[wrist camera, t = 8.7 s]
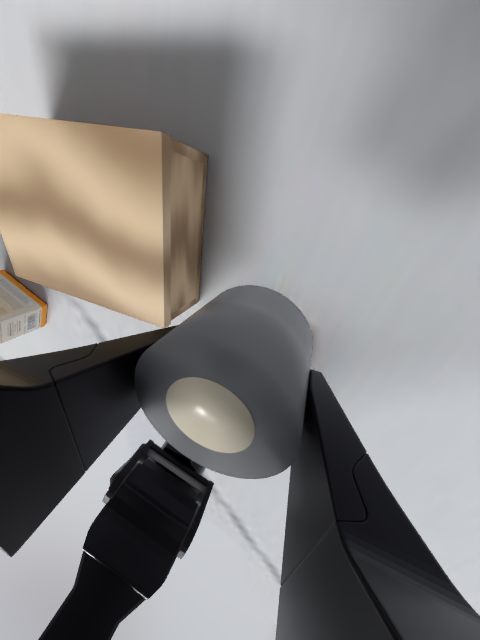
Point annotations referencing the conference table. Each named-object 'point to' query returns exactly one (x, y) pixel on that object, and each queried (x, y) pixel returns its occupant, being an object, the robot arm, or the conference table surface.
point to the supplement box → (18, 309)
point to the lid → (89, 212)
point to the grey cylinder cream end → (231, 383)
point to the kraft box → (186, 224)
